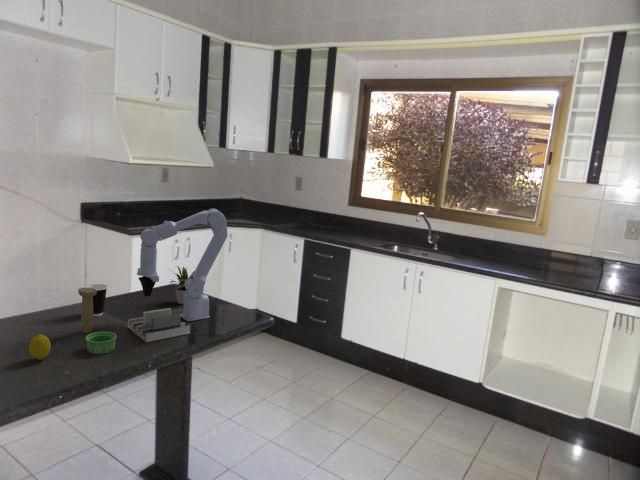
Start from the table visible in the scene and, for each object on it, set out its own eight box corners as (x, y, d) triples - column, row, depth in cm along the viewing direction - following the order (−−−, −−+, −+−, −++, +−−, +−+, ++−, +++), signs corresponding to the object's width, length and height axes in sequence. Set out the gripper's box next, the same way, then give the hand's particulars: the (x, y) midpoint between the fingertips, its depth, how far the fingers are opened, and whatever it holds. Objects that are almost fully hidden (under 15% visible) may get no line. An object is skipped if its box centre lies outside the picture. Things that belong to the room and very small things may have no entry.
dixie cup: (80, 316, 176) (80, 288, 174) (91, 310, 184) (91, 283, 182) (100, 318, 176) (101, 290, 174) (111, 312, 184) (111, 285, 182)
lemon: (35, 355, 142) (34, 330, 141) (54, 356, 142) (54, 331, 141) (25, 363, 136) (24, 337, 135) (45, 364, 137) (44, 338, 136)
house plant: (157, 300, 203) (158, 263, 200) (184, 295, 214) (186, 260, 211) (176, 308, 194) (177, 270, 191) (203, 303, 205) (205, 266, 202)
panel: (169, 323, 175) (169, 307, 174) (171, 324, 174) (171, 309, 173) (142, 327, 168) (143, 311, 167) (144, 329, 167) (145, 313, 166)
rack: (169, 320, 181) (170, 302, 180) (189, 333, 169) (190, 315, 168) (127, 327, 170) (127, 309, 169) (145, 342, 158) (146, 322, 157)
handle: (86, 335, 159) (86, 293, 157) (75, 330, 163) (75, 289, 160) (99, 332, 164) (99, 290, 161) (87, 327, 167) (88, 286, 164)
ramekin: (82, 355, 145) (82, 342, 144) (88, 344, 153) (88, 331, 153) (114, 354, 147) (114, 341, 147) (117, 343, 156) (118, 331, 155)
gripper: (130, 257, 178) (129, 292, 180) (146, 266, 168) (145, 302, 170) (148, 256, 183) (147, 289, 185) (164, 264, 173) (163, 299, 175)
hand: (147, 295), depth 178 cm, fingers closed
